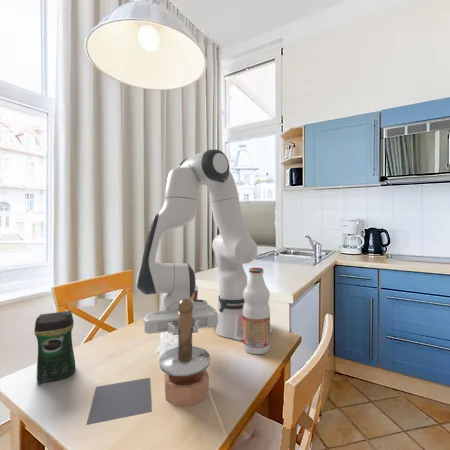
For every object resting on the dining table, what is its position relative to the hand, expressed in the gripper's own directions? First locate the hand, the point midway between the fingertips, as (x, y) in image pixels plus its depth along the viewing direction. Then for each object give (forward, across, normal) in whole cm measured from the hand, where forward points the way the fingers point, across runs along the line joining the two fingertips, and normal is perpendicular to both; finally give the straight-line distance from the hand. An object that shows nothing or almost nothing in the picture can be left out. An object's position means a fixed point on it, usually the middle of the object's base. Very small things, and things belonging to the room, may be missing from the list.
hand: (185, 331), depth 71 cm
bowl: (-1, 0, +17) cm, 17 cm away
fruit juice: (-18, +27, +17) cm, 37 cm away
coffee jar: (-20, -35, +18) cm, 44 cm away
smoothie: (-52, +9, +17) cm, 55 cm away
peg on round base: (-1, 0, +8) cm, 9 cm away
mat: (-3, -16, +17) cm, 23 cm away
